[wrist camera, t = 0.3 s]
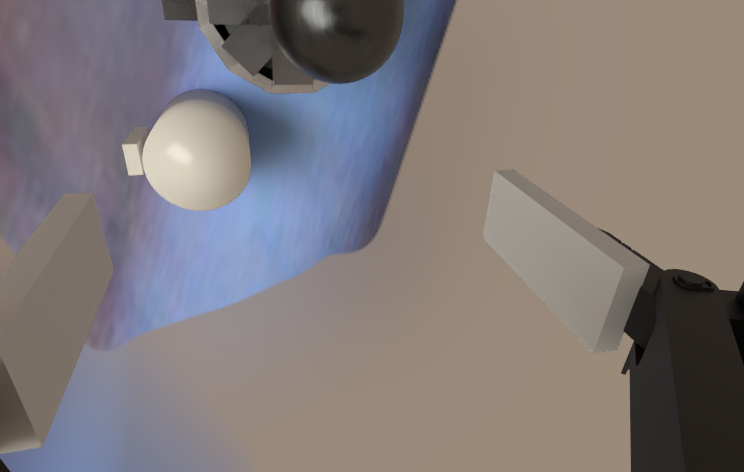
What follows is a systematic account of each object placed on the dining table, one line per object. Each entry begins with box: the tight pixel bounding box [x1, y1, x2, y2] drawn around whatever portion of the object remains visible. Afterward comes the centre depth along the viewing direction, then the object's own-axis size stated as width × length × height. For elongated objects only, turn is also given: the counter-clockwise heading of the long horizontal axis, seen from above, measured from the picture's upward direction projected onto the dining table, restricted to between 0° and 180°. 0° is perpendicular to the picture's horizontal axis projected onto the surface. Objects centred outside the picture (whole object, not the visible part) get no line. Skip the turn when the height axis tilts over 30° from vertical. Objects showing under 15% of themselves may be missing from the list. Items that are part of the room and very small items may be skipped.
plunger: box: [225, 0, 403, 84], centre depth 22 cm, size 9×9×20 cm
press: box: [162, 0, 330, 94], centre depth 34 cm, size 12×14×12 cm
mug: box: [122, 89, 251, 211], centre depth 38 cm, size 8×9×9 cm
